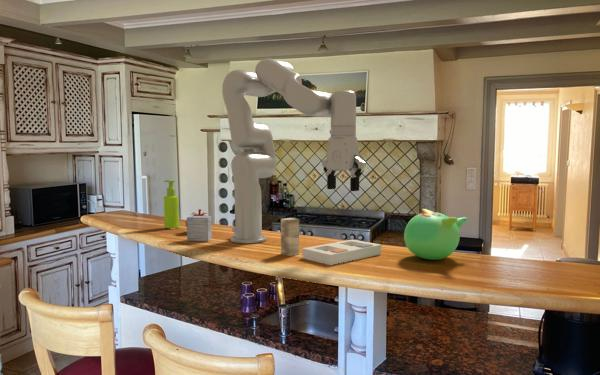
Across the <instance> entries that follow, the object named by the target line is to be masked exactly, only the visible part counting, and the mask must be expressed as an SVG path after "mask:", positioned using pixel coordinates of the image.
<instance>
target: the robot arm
mask: <svg viewBox="0 0 600 375" xmlns="http://www.w3.org/2000/svg"><path fill="white" fill-rule="evenodd" d="M302 83H303V81H302V77H301V75H300V74H299V73H298V72H296V71H295V69H294V67H293V65H291V64H290V63H289V62H287V61H283V60H279V59H274V58H263V59H261V60H259V61H258V63H257V64H256V66H255V68H254V71H253V70H245V69H233V70H231V71H230V72H228V73H227V74H226V75H225V77H224V79H223V82H222V85H221V90H222V91H221V92H222V97H223V102H224V106H225V108H226V109H225V110H226V113H227V121H228V125H229V126H228V127H229V133H230V138H231V142H232V145H233V146H234V147H236V148H237V149H241V150H242V149H243V150H253V151H243V152H239V153H237V154H235V156H234V157H233V158H232V160H231V163H230V165H231V166H230V168H231V173H232V178H233V185H234V186H233V188H234V227H233V228H231V232H232V233H233V234H234V235H232V236H231V237H230V242H232V243H236V244H257V243H262V242H265V241H266V240H267V236H266V235H262V234H263V228H262V224H263V222H262V218H263V217H262V212H263V211H262V210H263V209H262V206H263V205H262V188H261V185H260V183H259V181H258V179H266V178H270V177H272V176H273V175H274V174H275V172H276V169H277V156H276V151H275V144H274V139H273V134H272V131H271V130H270V128H269V127H268V126H267V125H266V124H265V123H262V122H255V121H254V120H253V115H252V108H251V107H250V104H249V102H248V101H247V100H246V98H245V96H248V97H249V96H250V97H257V98H263V97H264V98H265V97H267V96H271V95H272V94H274V93H278V94H280V95H281V96H283V99H284V101H285V102H286V103H287V104H288V105H289V106H290V107H291V108H293V109H294V110H296V111H297V112H299V113H301V114H303V115H304V116H309V117H320V118H330V129H329V134H330V137H328V141H327V144H326V145H327V146H326V154H325V159H324V160H323V161H321V165H322V167H323V171H324V174H325V176H326V178H327V179H326V184H327V186H326V187H327V188H326V189H327V190H335V189H336V188H337V176H336V173H337V172H346V171H347V172H349V173H350V176H351V177H350V183H349V184H350V185H349V188H350V189H349V190H350V192H358V191H360V178H361V177H362V174H363V173H364V172H365V169H366V166H367V163H366V161H364V160H363V159H361V158H360V151H359V150H360V149H359V141H358V137H357V95H356V93H355V92H354V91H353V90H336V91H335V90H334V91H332V93H331V92H330V93H329V92H324V91H319V90H313V89H310V88H308V87H306V86H305V85H304V84H302Z"/></svg>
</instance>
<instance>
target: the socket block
mask: <svg viewBox="0 0 600 375" xmlns="http://www.w3.org/2000/svg"><path fill="white" fill-rule="evenodd" d="M301 251H302V253H301V254H302V256H301V257H302V259H303V260H308V261H311V262H316V263H320V264H323V263H324V264H323V265H327V266H334V264H335V265H339V264H344V263H347V262H348V261H349V262H352V260H353V261H357V260H362V259H367V258H370V257H371V258H372V257H376V256H380V255H382V244H380V243H379V244H378V243H374V242H369V241H364V240H363V241H362V240H357V239H348V240H342V241H336V242H331V243H326V244H319V245H314V246H313V245H312V246H307V247H303V248H301ZM343 262H344V263H343ZM338 263H339V264H338Z"/></svg>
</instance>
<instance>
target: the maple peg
mask: <svg viewBox="0 0 600 375" xmlns="http://www.w3.org/2000/svg"><path fill="white" fill-rule="evenodd" d="M299 254H300V219H299V218H295V217H287V218H286V217H285V218H280V255H283V256H288V257H292V256H296V255H299Z"/></svg>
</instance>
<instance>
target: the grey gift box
mask: <svg viewBox="0 0 600 375" xmlns="http://www.w3.org/2000/svg"><path fill="white" fill-rule="evenodd" d="M186 220H187V227H186V241H187V242H209V241H211V240H212V238H213V237H212V236H213V235H212V234H213V233H212V225H211V224H212V216H209V215H205V216H204V215H203V216H193V215H189V216H188V217H186Z"/></svg>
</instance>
